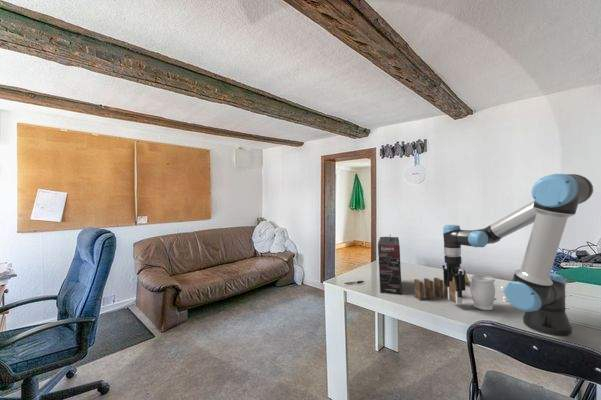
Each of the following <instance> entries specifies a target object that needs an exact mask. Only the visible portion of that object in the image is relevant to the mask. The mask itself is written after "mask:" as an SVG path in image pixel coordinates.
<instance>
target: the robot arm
mask: <svg viewBox="0 0 601 400" xmlns="http://www.w3.org/2000/svg"><path fill="white" fill-rule="evenodd" d="M593 193H594V186H593V182H592V181H590V180H589V179H588V178H587V177H585V176H583V175H581V174H575V173H572V174H571V173H569V174H566V173H553V174H548V175H545V176H542V177H541V178H539V179H538V180H537V181H535V182H534V184H533V185H532V188H531V196H532V199H533V201H530V203H527V204H525V205H523V206H522V207H520V208H518V209H516V210H515V211H513V212H511V213H509V214H508V215H506V216H504V217H502V218H500V219H499V220H497V221H495V222H493V223H492V224H490V225H488V226H486V227H484V228H479V229H473V230H472V229H470V230H468V229H467V230H466V229H461V226H460V225H458V224H445V225H444V226H443V228H442V229H443V231H442V235H443V254H444V263H445V264H444V265H443V264H442V271H443V274H442V275H443V285H444V284H446V286H447V292H448V296H447V300H449V301H450V291H449V281H453V277H454V280H455V284H456V289H457V290H455V292H456V303H455V304H457V305H461V304H463V292H465V291H466V283H465V272H466V270H465V269H464V270H461V267H462V266H461V265H462V261H463V260H462V256H461V255H462V246H466V247H472V248H485V247H486V246H487V245H489V244H491V245H492V244H495V243H498V242H500V241H501V239H503V238H505V237H507V236H509V235H511V234H513V233H515V232H517V231H519V230H521V229H523V228H525V227H527V226H529V225H531V224H533V226H532V228H531V232H530V235H529V239H528V242H527V245H526V248H525V252H524V256H523V259H522V264H521V267H520V268H519V269H516V270H515V271H514V274H513V277H512V280H511V281H509V282H508V283H507V284H506V285H505V286H504V291H503V292H504V297H506V298H507V299H506V300H507V302H508V303H509V304H511V305H512V306H513V307H514V308H515V309H517V310H519V311H522V312H524V314H523V317H522V318H523V319H522V320H523V321H522V322H523V324H524V325H525V326H526V327H528V328H530V329H532V330H534V331H537V332H539V333H542V334H546V335H551V336H557V337H566V336H571V335H572V334H573V327H572V325H571V323H570V320H569V317H568V315H567V313H566V312H567V311H566V285H567V284H566V281H565V277H564V276H562V275H560V274H558V273H552V269H553V266H554V262H555V260H556V256H557V254H558V250H559V247H560V243H561V240H562V238H563V234H564V230H565V228H566V224H567V221H568V218H570V217H573V216H575V215H576V213H577V210H578V207H579V205H580V204H583V203H586V201H588V200H589V199H590V198H591V196H593ZM457 274H458V275H457ZM446 281H447V282H446Z"/></svg>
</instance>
